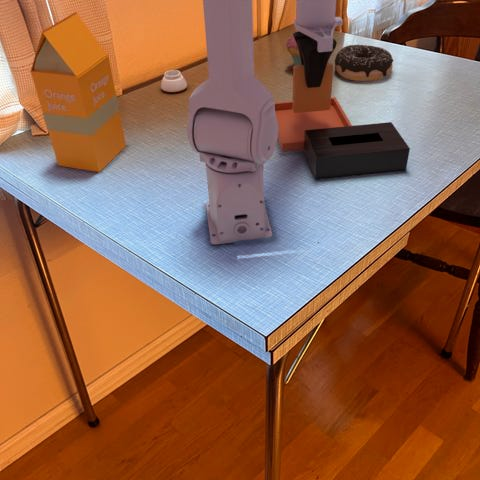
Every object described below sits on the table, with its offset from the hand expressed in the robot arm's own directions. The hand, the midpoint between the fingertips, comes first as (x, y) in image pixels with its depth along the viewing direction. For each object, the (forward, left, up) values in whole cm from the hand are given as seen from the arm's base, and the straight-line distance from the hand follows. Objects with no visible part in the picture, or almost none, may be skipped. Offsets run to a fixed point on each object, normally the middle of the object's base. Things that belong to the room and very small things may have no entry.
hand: (312, 84), depth 89 cm
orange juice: (-2, +36, -8) cm, 37 cm away
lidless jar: (+22, +22, -8) cm, 32 cm away
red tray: (0, 0, -8) cm, 8 cm away
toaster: (-13, -4, -8) cm, 15 cm away
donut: (+22, -15, -8) cm, 28 cm away
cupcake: (+26, -5, -8) cm, 28 cm away
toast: (0, 0, -4) cm, 4 cm away
